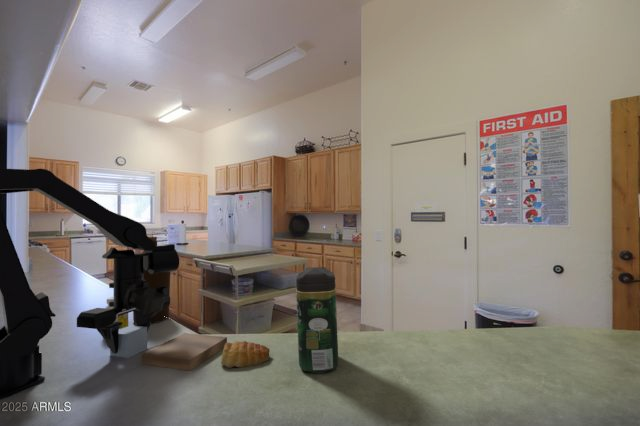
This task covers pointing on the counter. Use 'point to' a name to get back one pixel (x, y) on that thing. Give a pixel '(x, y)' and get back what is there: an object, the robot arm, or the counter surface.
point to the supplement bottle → (121, 318)
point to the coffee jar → (317, 320)
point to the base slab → (184, 351)
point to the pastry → (244, 354)
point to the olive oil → (155, 282)
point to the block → (131, 341)
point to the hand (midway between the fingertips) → (129, 347)
